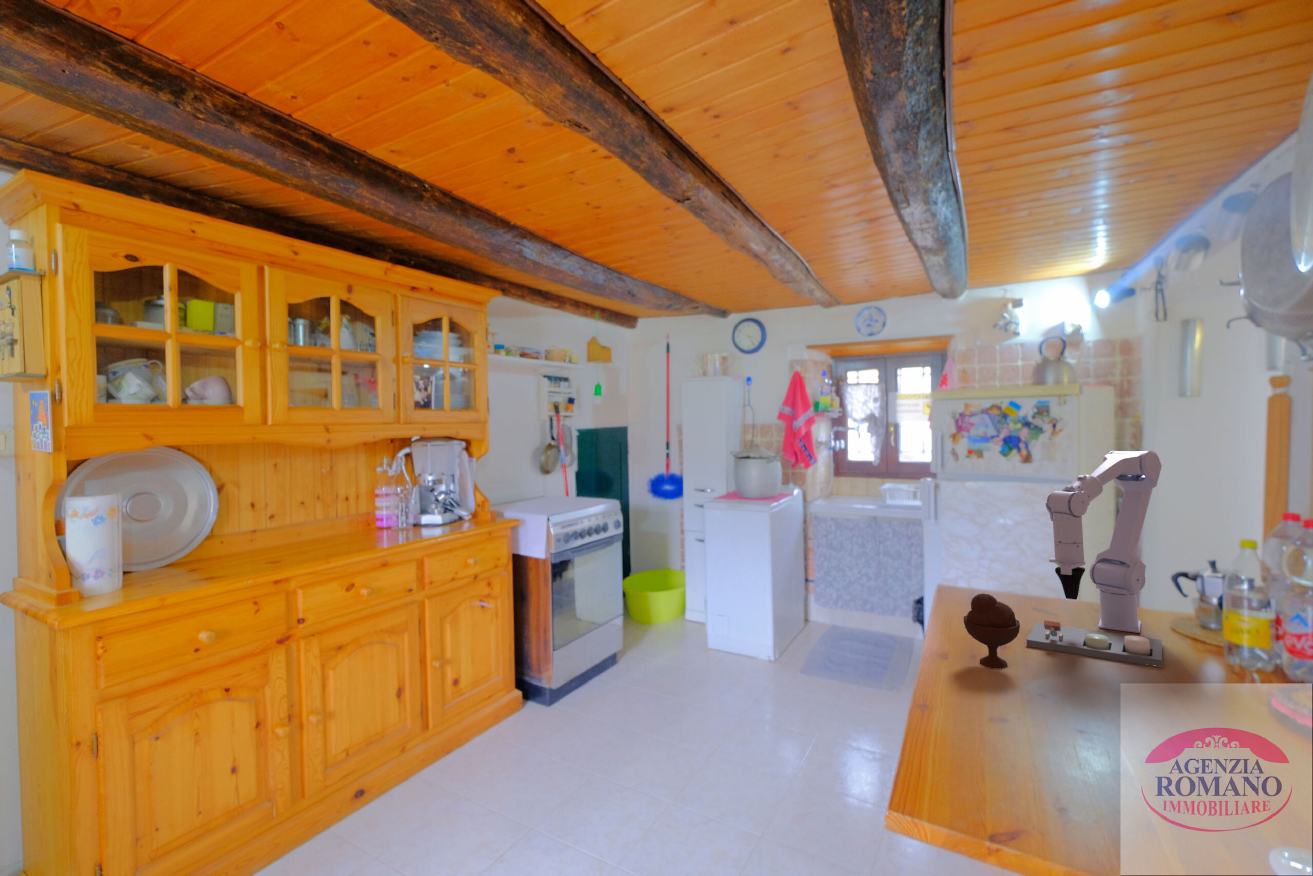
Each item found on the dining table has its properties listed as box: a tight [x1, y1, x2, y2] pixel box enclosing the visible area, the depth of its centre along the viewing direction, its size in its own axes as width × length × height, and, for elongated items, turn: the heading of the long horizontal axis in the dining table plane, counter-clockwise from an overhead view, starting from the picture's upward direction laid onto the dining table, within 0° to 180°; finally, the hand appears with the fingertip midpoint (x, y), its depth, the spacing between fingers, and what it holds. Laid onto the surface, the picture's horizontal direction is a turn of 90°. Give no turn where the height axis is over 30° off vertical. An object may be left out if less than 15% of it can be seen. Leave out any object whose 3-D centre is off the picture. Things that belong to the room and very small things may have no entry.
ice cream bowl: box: [963, 592, 1021, 670], centre depth 129 cm, size 11×11×15 cm
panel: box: [1025, 622, 1163, 667], centre depth 135 cm, size 14×24×2 cm, turn 50°
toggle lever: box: [1043, 619, 1062, 637], centre depth 137 cm, size 1×3×4 cm
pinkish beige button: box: [1124, 635, 1151, 656], centre depth 128 cm, size 4×4×3 cm
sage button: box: [1085, 634, 1110, 650], centre depth 132 cm, size 4×4×3 cm
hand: (1071, 598), depth 141 cm, fingers closed
